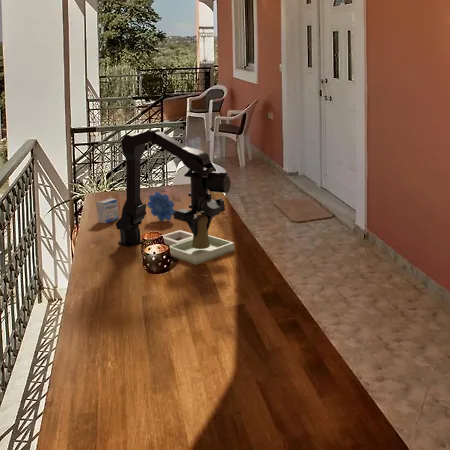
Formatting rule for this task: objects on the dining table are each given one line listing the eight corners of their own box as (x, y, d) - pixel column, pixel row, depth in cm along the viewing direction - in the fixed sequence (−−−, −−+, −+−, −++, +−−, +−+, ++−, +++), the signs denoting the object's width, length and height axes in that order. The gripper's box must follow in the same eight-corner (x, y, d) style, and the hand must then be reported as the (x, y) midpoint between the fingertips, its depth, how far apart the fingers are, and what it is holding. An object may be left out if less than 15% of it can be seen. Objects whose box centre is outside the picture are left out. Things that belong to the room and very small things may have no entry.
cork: (201, 250, 193) (200, 218, 189) (188, 246, 196) (187, 215, 193) (213, 245, 197) (212, 214, 194) (200, 241, 201) (199, 211, 197)
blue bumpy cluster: (144, 222, 233) (143, 194, 229) (150, 218, 239) (149, 190, 235) (172, 224, 230) (170, 195, 226) (177, 219, 236) (176, 191, 233)
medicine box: (105, 224, 232) (103, 203, 230) (97, 222, 234) (95, 201, 232) (119, 219, 238) (117, 198, 236) (111, 217, 241) (109, 197, 238)
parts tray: (195, 264, 186) (195, 256, 186) (168, 254, 196) (167, 246, 195) (234, 250, 199) (234, 242, 198) (206, 242, 208) (206, 234, 207)
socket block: (177, 249, 201) (177, 242, 200) (158, 243, 208) (158, 236, 207) (199, 242, 208) (199, 235, 207) (180, 236, 215) (180, 229, 214)
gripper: (195, 199, 179) (196, 247, 184) (236, 189, 192) (236, 233, 196) (171, 193, 187) (173, 239, 191) (213, 184, 199) (213, 227, 204)
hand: (200, 234), depth 195 cm, fingers closed on cork, 4 cm apart
